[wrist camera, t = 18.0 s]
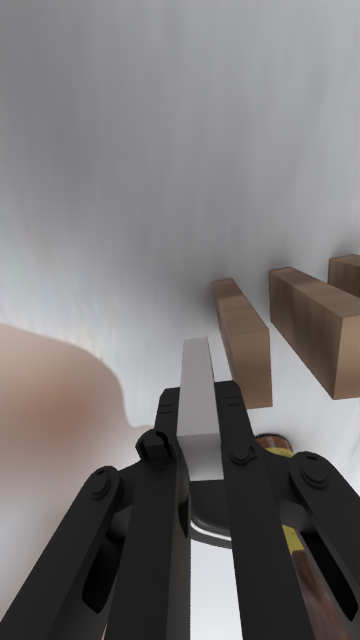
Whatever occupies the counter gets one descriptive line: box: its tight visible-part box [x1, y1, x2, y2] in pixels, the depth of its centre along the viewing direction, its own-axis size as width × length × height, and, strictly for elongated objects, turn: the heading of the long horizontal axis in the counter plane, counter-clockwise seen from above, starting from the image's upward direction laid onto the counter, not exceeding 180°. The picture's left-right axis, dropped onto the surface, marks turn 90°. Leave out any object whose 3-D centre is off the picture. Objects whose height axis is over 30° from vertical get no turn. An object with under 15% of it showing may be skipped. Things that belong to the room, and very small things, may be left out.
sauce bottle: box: [256, 435, 352, 640], centre depth 19 cm, size 7×6×20 cm
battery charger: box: [189, 477, 232, 549], centre depth 21 cm, size 7×4×11 cm, turn 70°
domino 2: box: [269, 267, 360, 400], centre depth 15 cm, size 5×2×10 cm, turn 12°
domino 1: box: [212, 278, 273, 409], centre depth 15 cm, size 5×2×10 cm, turn 12°
